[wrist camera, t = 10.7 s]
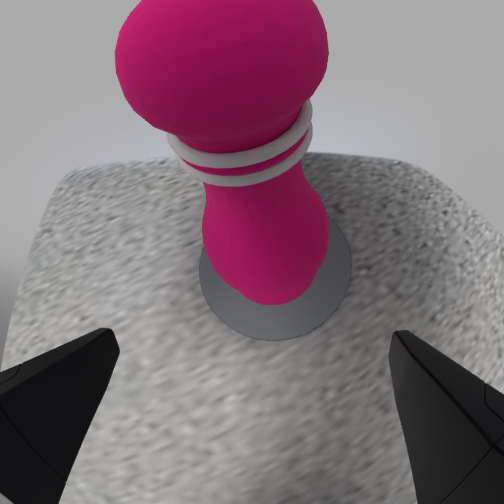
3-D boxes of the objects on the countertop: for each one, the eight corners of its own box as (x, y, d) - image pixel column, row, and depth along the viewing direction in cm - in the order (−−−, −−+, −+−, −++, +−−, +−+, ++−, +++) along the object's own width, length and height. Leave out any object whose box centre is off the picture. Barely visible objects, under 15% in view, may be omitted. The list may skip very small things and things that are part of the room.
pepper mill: (203, 270, 22) (19, 6, 4) (267, 203, 23) (204, -74, 5) (278, 334, 19) (111, -70, 1) (344, 255, 21) (396, -77, 3)
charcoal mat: (366, 322, 19) (368, 320, 18) (209, 351, 20) (206, 350, 19) (328, 191, 24) (328, 186, 23) (197, 217, 25) (195, 213, 24)
